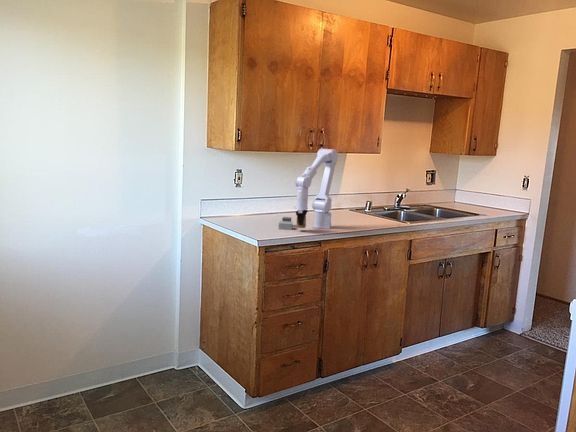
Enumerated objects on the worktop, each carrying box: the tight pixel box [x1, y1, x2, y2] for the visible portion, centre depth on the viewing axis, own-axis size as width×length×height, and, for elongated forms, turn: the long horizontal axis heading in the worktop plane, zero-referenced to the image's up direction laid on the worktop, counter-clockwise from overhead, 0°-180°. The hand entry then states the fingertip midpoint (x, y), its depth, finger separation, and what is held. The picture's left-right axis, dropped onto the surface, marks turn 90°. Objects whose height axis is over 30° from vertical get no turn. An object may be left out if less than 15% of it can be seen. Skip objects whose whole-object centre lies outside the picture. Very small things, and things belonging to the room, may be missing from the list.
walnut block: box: [296, 215, 307, 229], centre depth 262 cm, size 4×4×6 cm
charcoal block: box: [281, 216, 292, 222], centre depth 276 cm, size 4×4×4 cm
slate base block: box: [278, 220, 293, 231], centre depth 268 cm, size 7×7×4 cm
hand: (301, 224), depth 262 cm, fingers closed on walnut block, 4 cm apart
